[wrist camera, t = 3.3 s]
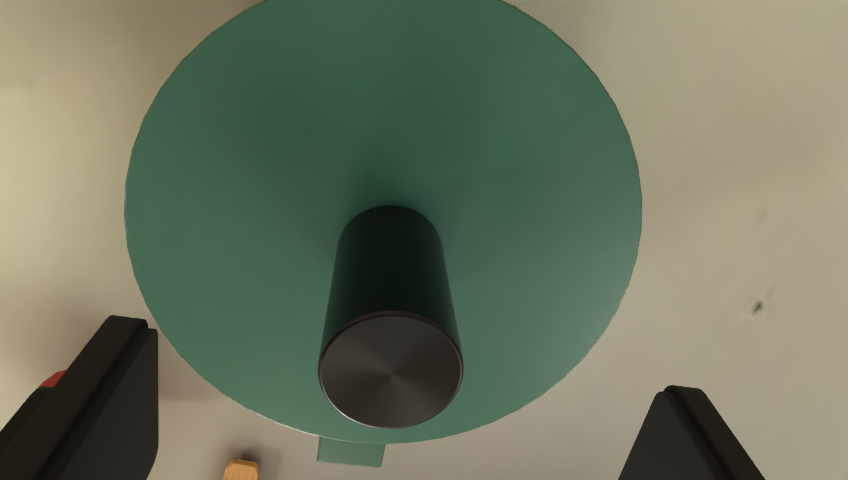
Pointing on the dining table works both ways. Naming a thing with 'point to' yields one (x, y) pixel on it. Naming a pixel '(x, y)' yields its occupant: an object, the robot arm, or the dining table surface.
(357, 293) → the lid
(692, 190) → the dining table surface
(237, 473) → the popsicle
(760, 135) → the dining table surface
